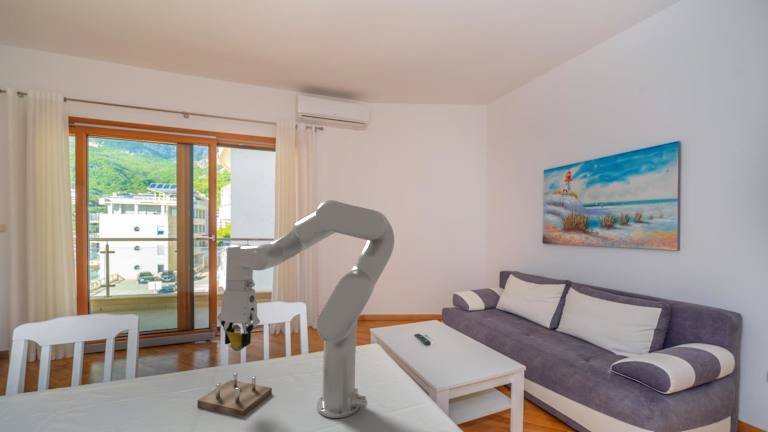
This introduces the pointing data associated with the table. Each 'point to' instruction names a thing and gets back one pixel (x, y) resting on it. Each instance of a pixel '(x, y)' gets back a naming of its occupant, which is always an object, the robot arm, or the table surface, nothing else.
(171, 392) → the table surface
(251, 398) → the peg board
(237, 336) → the olive yellow block
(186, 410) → the table surface
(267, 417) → the table surface
